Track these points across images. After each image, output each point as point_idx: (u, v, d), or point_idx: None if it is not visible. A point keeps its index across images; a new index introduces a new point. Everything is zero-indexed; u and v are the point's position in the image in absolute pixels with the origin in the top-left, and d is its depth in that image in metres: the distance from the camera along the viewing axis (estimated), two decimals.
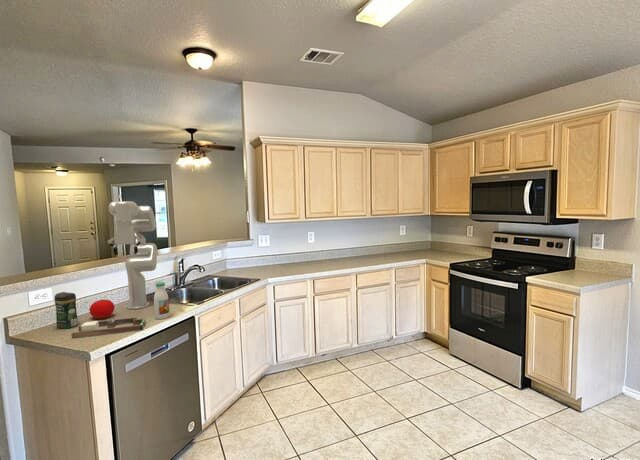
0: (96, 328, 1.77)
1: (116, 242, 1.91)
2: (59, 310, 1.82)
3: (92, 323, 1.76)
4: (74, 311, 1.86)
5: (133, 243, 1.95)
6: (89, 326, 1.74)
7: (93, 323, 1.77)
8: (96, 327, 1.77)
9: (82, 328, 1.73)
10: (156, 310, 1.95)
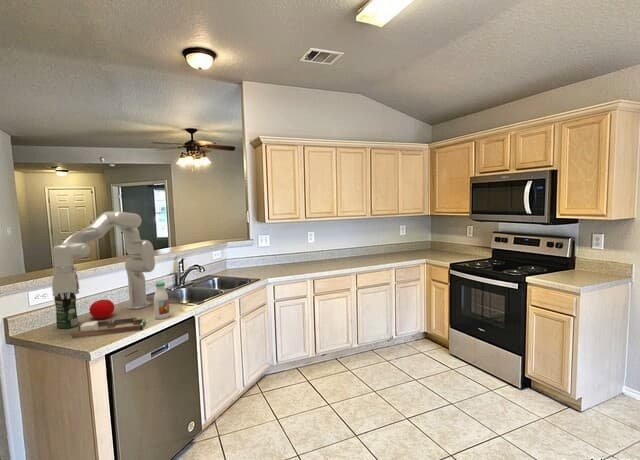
0: (95, 328, 1.76)
1: (54, 291, 1.69)
2: (59, 310, 1.82)
3: (91, 323, 1.76)
4: (74, 311, 1.86)
5: (68, 293, 1.71)
6: (89, 326, 1.74)
7: (92, 323, 1.77)
8: (96, 327, 1.77)
9: (82, 328, 1.73)
10: (156, 310, 1.95)
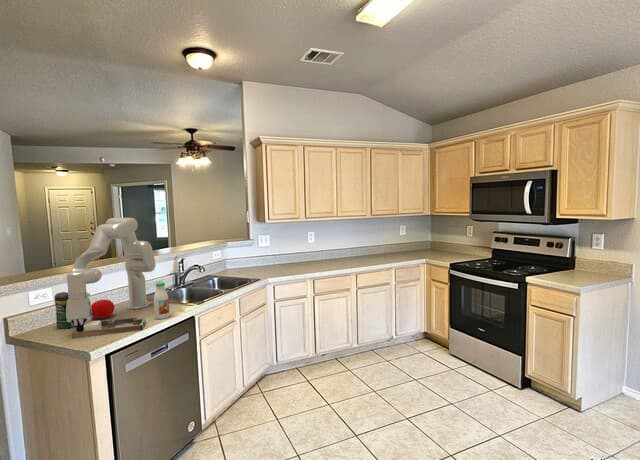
0: (99, 328, 1.77)
1: (68, 318, 1.72)
2: (59, 310, 1.82)
3: (94, 323, 1.76)
4: None
5: (81, 320, 1.74)
6: (92, 325, 1.74)
7: (96, 322, 1.77)
8: (99, 326, 1.77)
9: (85, 327, 1.73)
10: (156, 310, 1.95)
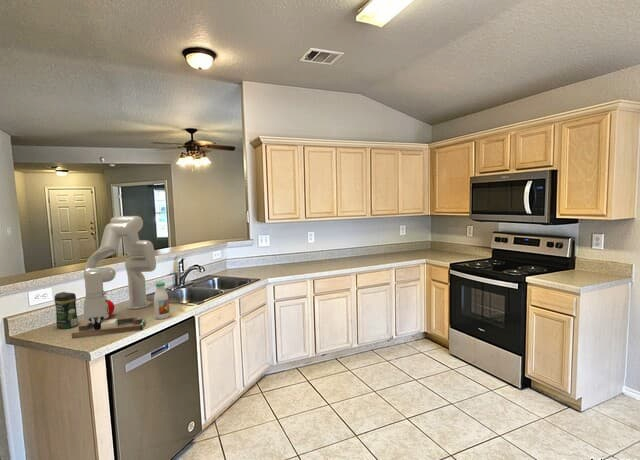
0: (115, 326, 1.79)
1: (86, 316, 1.74)
2: (59, 310, 1.82)
3: (111, 321, 1.78)
4: (74, 311, 1.86)
5: (99, 318, 1.76)
6: (109, 323, 1.76)
7: (112, 320, 1.79)
8: (115, 325, 1.79)
9: (102, 325, 1.75)
10: (156, 310, 1.95)
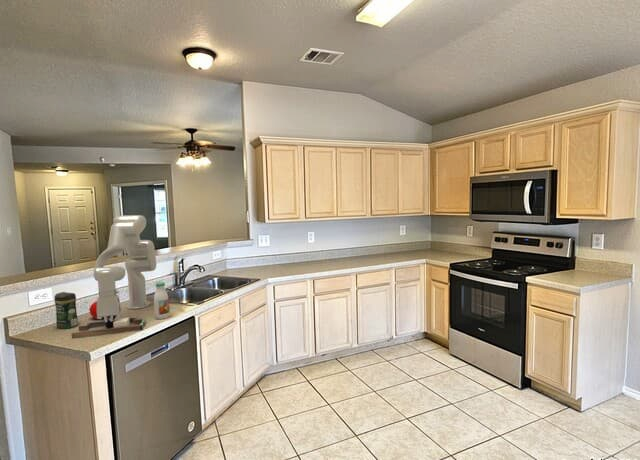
0: (127, 324, 1.80)
1: (99, 314, 1.76)
2: (59, 310, 1.82)
3: (123, 320, 1.80)
4: (74, 311, 1.86)
5: (111, 316, 1.78)
6: (121, 322, 1.78)
7: (124, 319, 1.81)
8: (128, 323, 1.81)
9: (115, 324, 1.77)
10: (156, 310, 1.95)
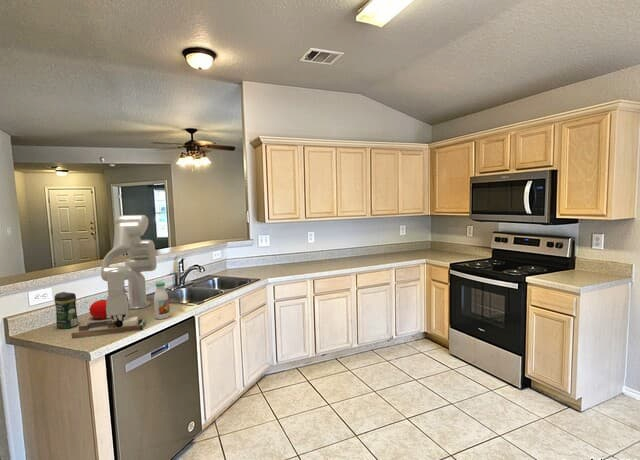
0: (136, 323, 1.82)
1: (108, 313, 1.77)
2: (59, 310, 1.82)
3: (132, 319, 1.81)
4: (74, 311, 1.86)
5: (120, 315, 1.79)
6: (131, 321, 1.79)
7: (133, 318, 1.82)
8: (137, 322, 1.82)
9: (124, 323, 1.78)
10: (156, 310, 1.95)
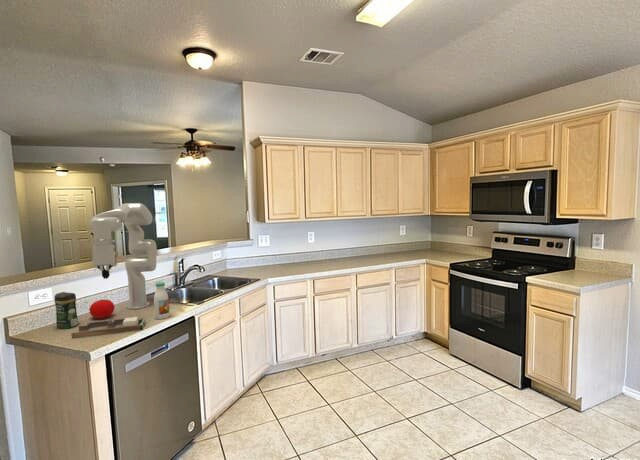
0: (136, 324, 1.82)
1: (94, 263, 1.75)
2: (59, 310, 1.82)
3: (132, 319, 1.81)
4: (74, 311, 1.86)
5: (107, 265, 1.77)
6: (131, 321, 1.79)
7: (133, 318, 1.82)
8: (137, 323, 1.82)
9: (124, 323, 1.78)
10: (156, 310, 1.95)
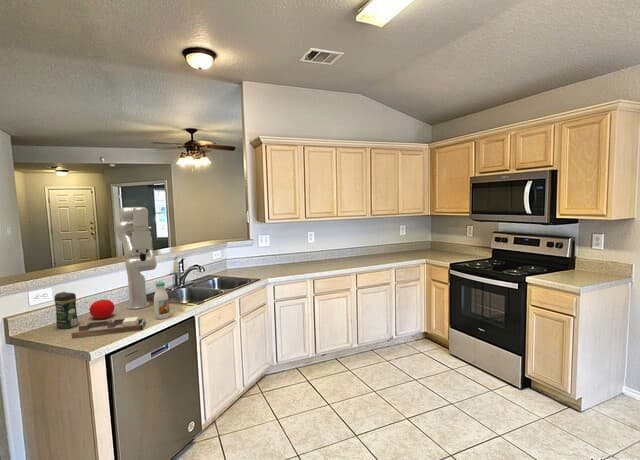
0: (136, 324, 1.82)
1: (133, 247, 1.96)
2: (59, 310, 1.82)
3: (132, 319, 1.81)
4: (74, 311, 1.86)
5: (144, 249, 1.98)
6: (131, 321, 1.79)
7: (133, 318, 1.82)
8: (137, 323, 1.82)
9: (124, 323, 1.78)
10: (156, 310, 1.95)
